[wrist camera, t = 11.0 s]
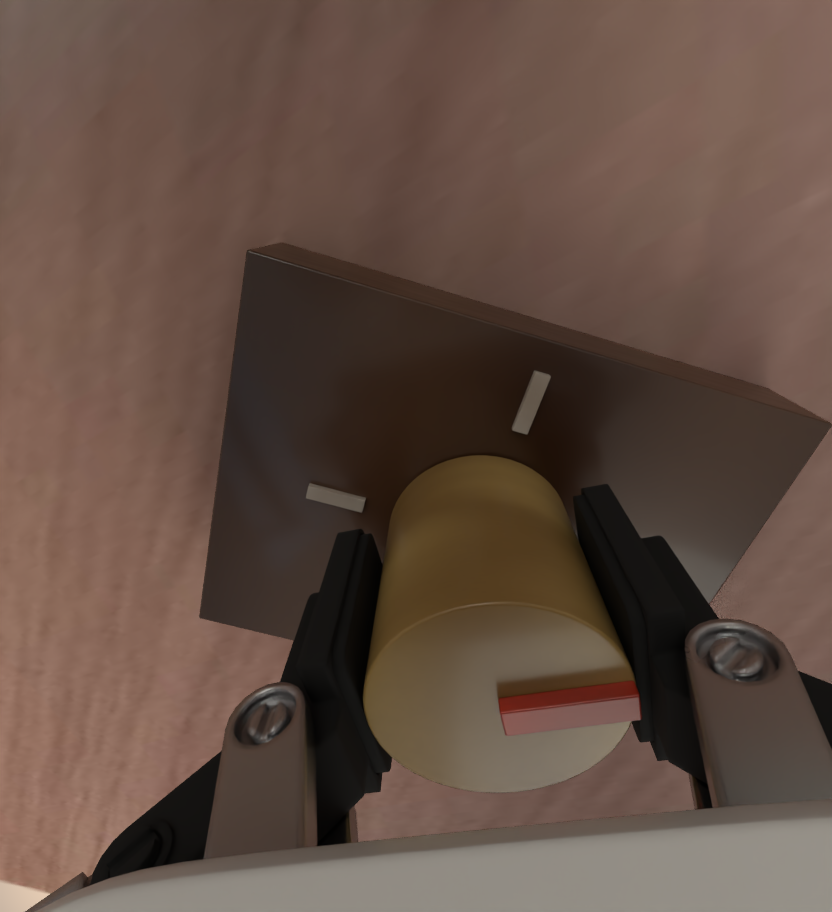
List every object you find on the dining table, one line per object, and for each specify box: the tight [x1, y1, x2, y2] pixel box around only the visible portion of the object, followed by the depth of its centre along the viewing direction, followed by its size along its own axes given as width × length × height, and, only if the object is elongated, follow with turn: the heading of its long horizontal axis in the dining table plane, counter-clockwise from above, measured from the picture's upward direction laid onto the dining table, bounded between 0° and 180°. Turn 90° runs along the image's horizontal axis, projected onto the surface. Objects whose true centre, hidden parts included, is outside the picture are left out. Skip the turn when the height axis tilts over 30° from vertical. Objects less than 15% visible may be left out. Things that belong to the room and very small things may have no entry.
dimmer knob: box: [363, 455, 642, 793], centre depth 11 cm, size 4×4×5 cm
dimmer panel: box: [199, 243, 832, 640], centre depth 14 cm, size 13×10×3 cm
